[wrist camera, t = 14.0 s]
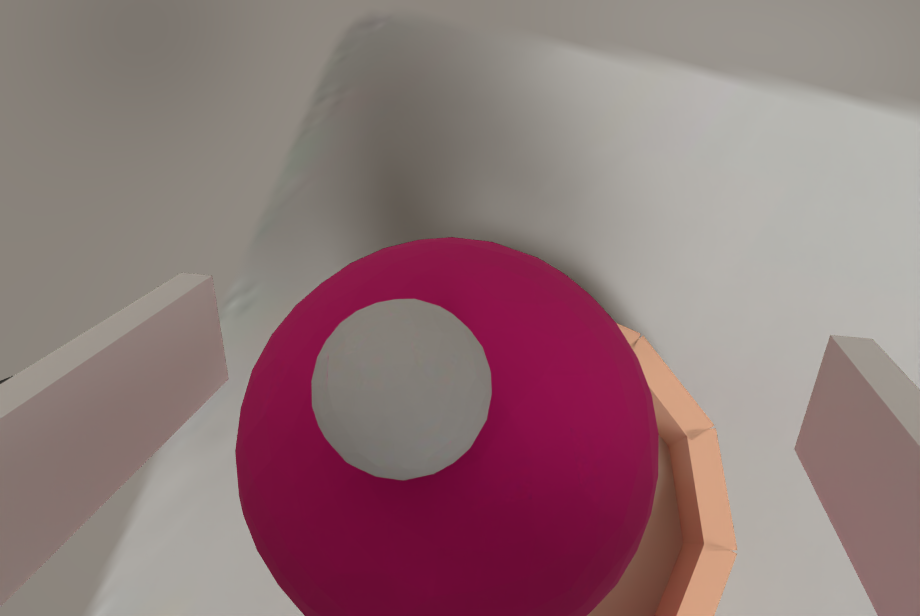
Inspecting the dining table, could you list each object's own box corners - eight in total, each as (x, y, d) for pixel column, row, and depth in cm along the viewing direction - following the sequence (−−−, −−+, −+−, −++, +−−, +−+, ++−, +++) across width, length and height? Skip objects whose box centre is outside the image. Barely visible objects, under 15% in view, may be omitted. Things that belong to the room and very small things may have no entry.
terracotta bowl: (784, 568, 23) (833, 574, 19) (444, 811, 21) (425, 869, 18) (552, 266, 28) (556, 225, 24) (267, 444, 27) (224, 430, 23)
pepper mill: (639, 508, 23) (1044, 377, 5) (500, 650, 22) (294, 1233, 3) (508, 374, 26) (425, -66, 7) (376, 495, 24) (-131, 353, 6)
